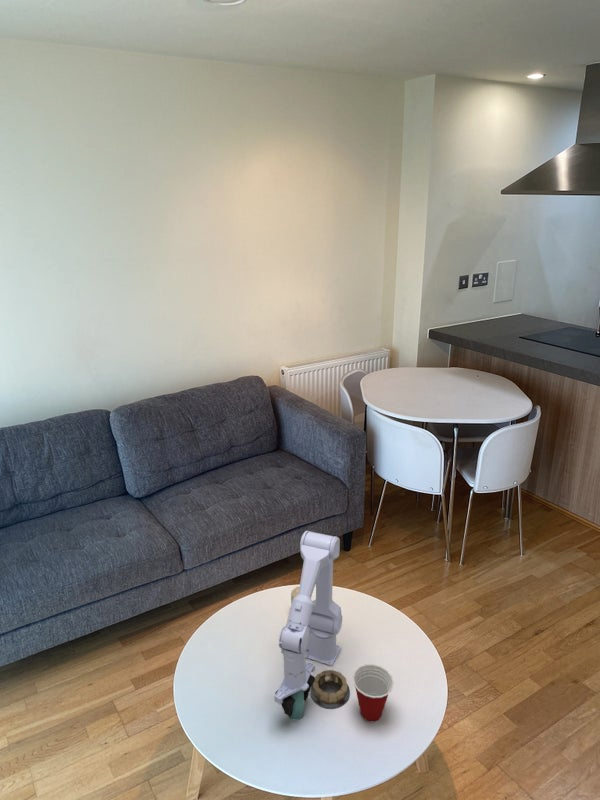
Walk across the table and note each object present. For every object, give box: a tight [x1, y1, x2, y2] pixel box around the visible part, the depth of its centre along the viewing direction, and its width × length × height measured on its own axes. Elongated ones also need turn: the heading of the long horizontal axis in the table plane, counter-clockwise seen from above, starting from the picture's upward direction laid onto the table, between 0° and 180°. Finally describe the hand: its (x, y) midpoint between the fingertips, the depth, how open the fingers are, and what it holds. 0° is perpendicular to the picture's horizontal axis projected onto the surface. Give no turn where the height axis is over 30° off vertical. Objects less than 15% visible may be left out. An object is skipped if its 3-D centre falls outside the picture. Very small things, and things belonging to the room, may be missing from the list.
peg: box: [289, 690, 305, 721], centre depth 158 cm, size 4×4×8 cm
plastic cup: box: [352, 663, 395, 723], centre depth 157 cm, size 11×11×12 cm
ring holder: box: [310, 669, 351, 710], centre depth 165 cm, size 11×11×3 cm
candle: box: [290, 586, 300, 605], centre depth 195 cm, size 6×6×10 cm
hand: (295, 706), depth 159 cm, fingers open, 6 cm apart
